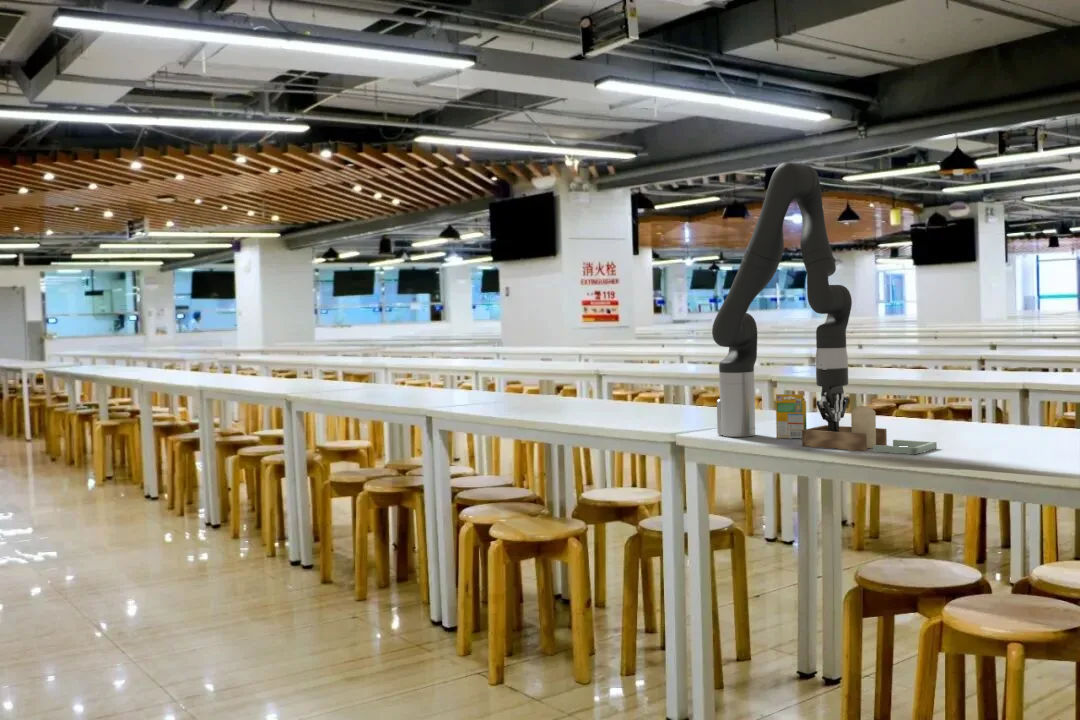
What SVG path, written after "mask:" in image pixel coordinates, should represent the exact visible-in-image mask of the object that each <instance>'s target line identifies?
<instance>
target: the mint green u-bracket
mask: <svg viewBox="0 0 1080 720" xmlns="http://www.w3.org/2000/svg"><path fill="white" fill-rule="evenodd" d="M899 446H908V447H899ZM935 448H938V447H937V442H936V441H924V440H910V439H909V440H908V439H907V440H905V439H893V440H892V445H873V448H872V452H873V451H874V453H884V452H890V453H889V454H897V453H907V454H906V455H910V454H917V455H919V454H918V453H921V452H924V451H927V452H929V451H928V450H930V451H932V450H931V449H934V450H936V449H935ZM924 453H925V452H924ZM921 454H922V453H921Z"/></svg>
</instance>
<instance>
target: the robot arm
mask: <svg viewBox="0 0 1080 720" xmlns="http://www.w3.org/2000/svg"><path fill="white" fill-rule="evenodd" d="M764 197H765V198H764V201H763V204H762V207H761V211H760V212H759V213H760V214H759V215H758V216H759V217H757V221H756V224H755V226H754V229H753V232H752V235H751V238H750V240H749V241H748V244H747V247H746V248H745V251H744V254H743V256H742V259H741V262H740V264H739V268H738V270H737V272H736V275H735V277H734V279H733V282H732V284H731V286H730V289H729V291H728V293H727V295H726V297H725V299H724V301H723V303H722V305H721V307H720V309H719V311H718V312H717V314H716V316H715V319H714V321H713V323H712V324H713V325H712V329H711V331H712V332H711V333H712V339H713V341H714V342H715V344H716V345H718V346H719V347H724V348H728V353H727V355H726V356H725V357H724V358H723V359H722V360H720V361H719V363H718V372H719V375H718V376H719V377H718V379H719V399H717V400H716V418H717V419H716V421H717V423H716V426H717V430H716V431H717V435H718V434H719V436H722V435H723V437H732V438H735V437H737V438H740V437H741V438H743V437H751V436H755V435H756V402H755V401H756V400H755V399H756V398H755V397H756V395H755V364H756V361H757V358H758V357H757V356H758V327H757V323H756V320H755V318H754V316H752V315H751V314H750V313H748V312H747V311H748V310H749V307H750V305H751V304H752V303H753V301H754V300H755V298H756V297H757V296H758V295H759V294H760V293H761V291H763V290H764V289H765V288H766V287H767V286H768V284H769V283H770V282H771V281H772V279H773V278H774V276H775V274H776V272H777V270H778V267H779V265H780V262H781V260H782V258H783V254H784V247H785V246H784V245H785V242H784V221H785V217H786V215H787V212H788V209H789V207H790V205H791V203H792V202H796V204H797V206H798V209H799V210H800V214H801V218H802V226H801V234H800V240H799V241H800V253H801V257H802V259H803V264H804V268H805V270H806V295H807V296H806V297H807V302H808V305H809V307H810V308H811V310H812V311H814V312H815V313H817V314H819V315H822V314H823V315H825V314H826V320H825V322H824V323H821V324H819V325H818V326H817V327H816V330H815V335H816V336H815V341H816V352H815V353H816V354H815V377H816V378H815V381H816V382H815V383H816V385H817V386H818V387H821V393H820V394H821V395H820V396H821V399H820V400H816V403H815V404H816V407H817V408H818V411H819V414H820V416H821V418H822V420H824V421H826V422H827V425H828V431H833V432H839V426H840V421H841V420H842V419H843V418H844V417H845V414H846V411H847V408H848V404H849V401H850V399H849V397H848V396H845V394H844V392H845V390H844V387H846V386H848V385H849V363H848V362H849V361H848V358H849V357H848V351H847V333H846V332H847V328H848V325H849V320H850V316H851V311H852V306H853V305H852V304H853V301H852V294H851V293H850V290H849V289H848V287H846V286H844V285H842V284H830V283H829V277H831V276H832V275H834V274H835V272H836V271H837V266H836V262H835V259H834V256H833V252H832V248H831V245H830V241H829V238H828V234H827V233H828V231H827V229H826V222H825V214H824V206H823V197H822V190H821V183H820V177H819V174H818V172H817V171H816V169H815V168H814V167H812V166H810V165H807V164H804V163H797V162H787V161H786V162H783V163H781V164H779V165H778V166H777V167H776V168H775V170H774V171H773V172H772V175H771V177H770V180H769V183H768V187H767V190H766V193H765V196H764Z"/></svg>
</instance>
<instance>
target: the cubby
mask: <svg viewBox="0 0 1080 720" xmlns="http://www.w3.org/2000/svg"><path fill="white" fill-rule="evenodd" d="M887 435H888V434H887V428H883V427H882V428H881V427H880V428H879V427H876V445H885V446H888V444H887V442H888V440H887V439H888V438H887ZM801 444H802V445H801V446H802V447H804V446H810V447H809V448H817V447H823V448H822V449H830V448H837V449H836V450H844V449H848V450H847V451H857V450H863V451H862V452H866V451H865V450H867V438H866V434H865V433H852V426H845V425H839V432H833V431H828V424H824V425H820V426H819V425H818V426H815V427H811V428H807V429H805V430H802V439H801ZM867 451H868V450H867Z"/></svg>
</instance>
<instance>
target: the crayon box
mask: <svg viewBox="0 0 1080 720" xmlns="http://www.w3.org/2000/svg"><path fill="white" fill-rule="evenodd" d="M788 397H791V398H793V399H788ZM785 398H787V399H785ZM794 398H795V399H794ZM806 403H807V402H806V400H804V394H798V393H797V394H796V393H795V394H794V393H793V394H792V393H791V394H790V393H789V394H786V393H785V394H783V393H782V394H780V393H779V394H777V393H776V394H775V420H776V421H775V423H776V429H775V430H776V439H792V438H800V440H802V439H801V438H802V430H805V429H808V428H807V404H806Z"/></svg>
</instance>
